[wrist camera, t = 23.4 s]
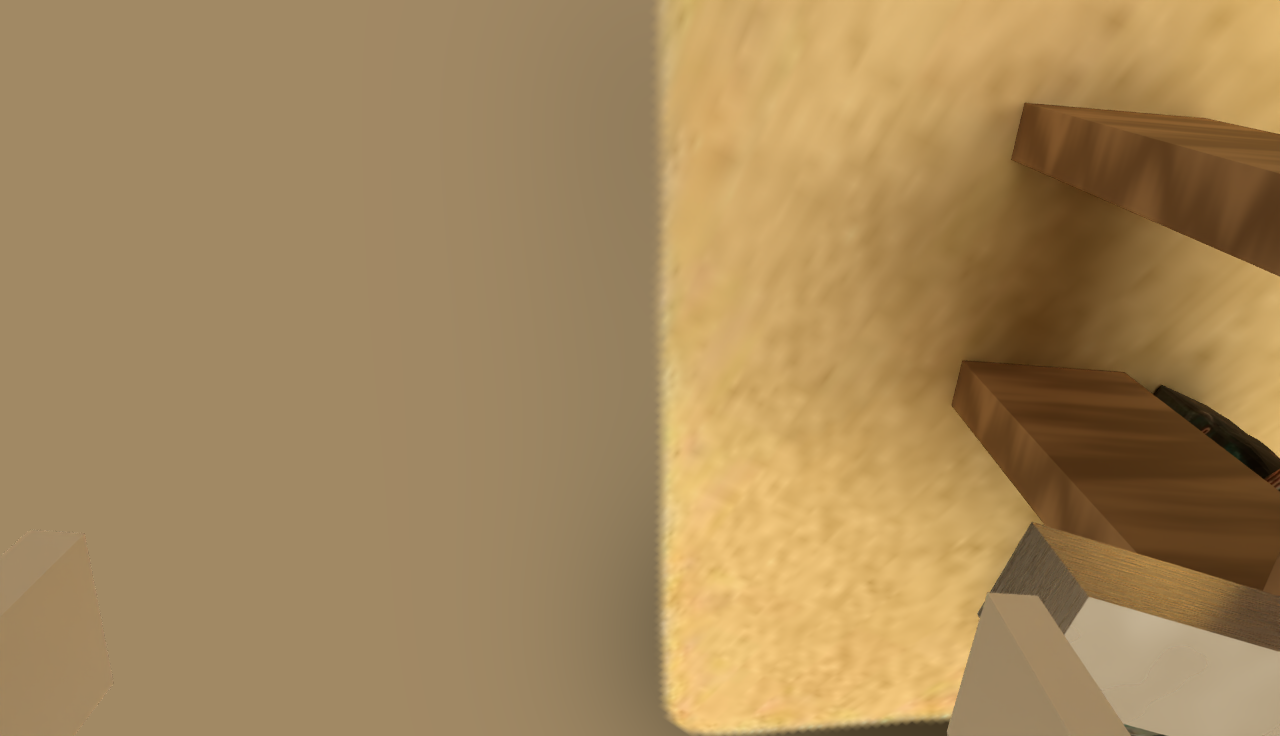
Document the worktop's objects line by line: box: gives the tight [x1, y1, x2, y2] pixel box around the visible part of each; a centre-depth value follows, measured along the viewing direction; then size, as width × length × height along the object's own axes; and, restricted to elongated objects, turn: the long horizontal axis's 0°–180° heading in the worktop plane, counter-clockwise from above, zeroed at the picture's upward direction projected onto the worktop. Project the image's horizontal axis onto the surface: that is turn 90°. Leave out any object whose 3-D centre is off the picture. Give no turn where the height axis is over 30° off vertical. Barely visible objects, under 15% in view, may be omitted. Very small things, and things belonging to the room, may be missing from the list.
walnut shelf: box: [952, 103, 1280, 596], centre depth 37 cm, size 18×12×30 cm, turn 175°
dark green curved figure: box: [1124, 385, 1280, 736], centre depth 48 cm, size 20×6×20 cm, turn 155°
